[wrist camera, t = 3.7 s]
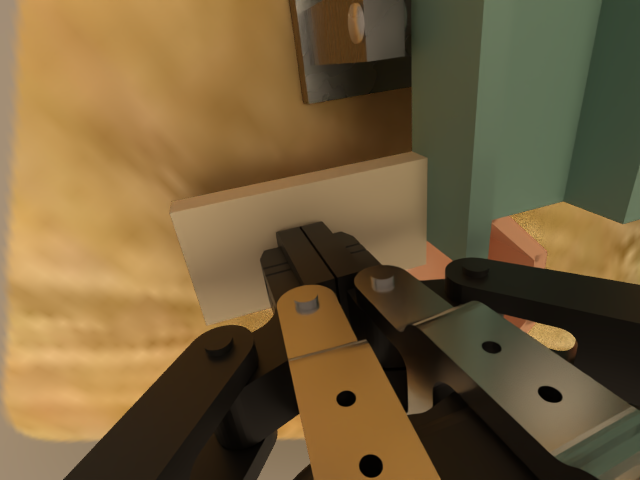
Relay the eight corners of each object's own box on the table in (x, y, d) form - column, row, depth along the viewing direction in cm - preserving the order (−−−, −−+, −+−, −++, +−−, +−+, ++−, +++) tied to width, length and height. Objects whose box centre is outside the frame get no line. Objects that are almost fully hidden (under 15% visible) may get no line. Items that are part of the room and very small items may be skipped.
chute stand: (513, -49, 18) (684, -114, 11) (504, 68, 20) (643, 66, 14) (285, -28, 15) (345, -95, 9) (303, 102, 17) (361, 117, 11)
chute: (590, -278, 11) (920, -559, 6) (523, 198, 18) (651, 251, 13) (19, -315, 8) (-280, -964, 3) (204, 279, 15) (210, 391, 10)
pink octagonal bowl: (500, 172, 22) (557, 191, 19) (486, 327, 27) (529, 365, 24) (313, 216, 20) (338, 247, 16) (336, 377, 25) (359, 427, 21)
